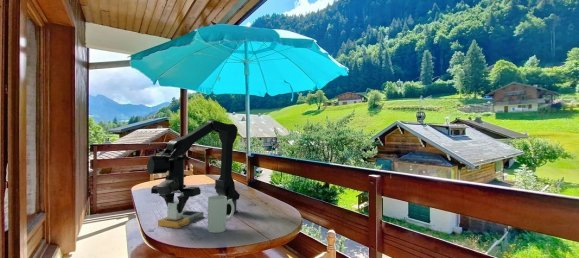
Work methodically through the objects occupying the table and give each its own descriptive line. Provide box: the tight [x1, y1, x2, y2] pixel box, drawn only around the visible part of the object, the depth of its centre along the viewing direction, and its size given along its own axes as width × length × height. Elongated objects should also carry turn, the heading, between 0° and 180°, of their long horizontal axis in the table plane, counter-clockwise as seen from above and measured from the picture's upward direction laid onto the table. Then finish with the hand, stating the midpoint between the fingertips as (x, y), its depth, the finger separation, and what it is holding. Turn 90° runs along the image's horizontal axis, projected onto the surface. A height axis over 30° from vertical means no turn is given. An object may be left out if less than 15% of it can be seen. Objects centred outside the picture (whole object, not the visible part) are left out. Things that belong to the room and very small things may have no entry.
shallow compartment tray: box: [157, 209, 205, 229], centre depth 125 cm, size 9×17×2 cm, turn 164°
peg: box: [167, 200, 184, 221], centre depth 120 cm, size 4×4×7 cm
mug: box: [207, 195, 235, 234], centre depth 115 cm, size 10×7×12 cm, turn 123°
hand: (175, 212), depth 120 cm, fingers closed on peg, 4 cm apart
